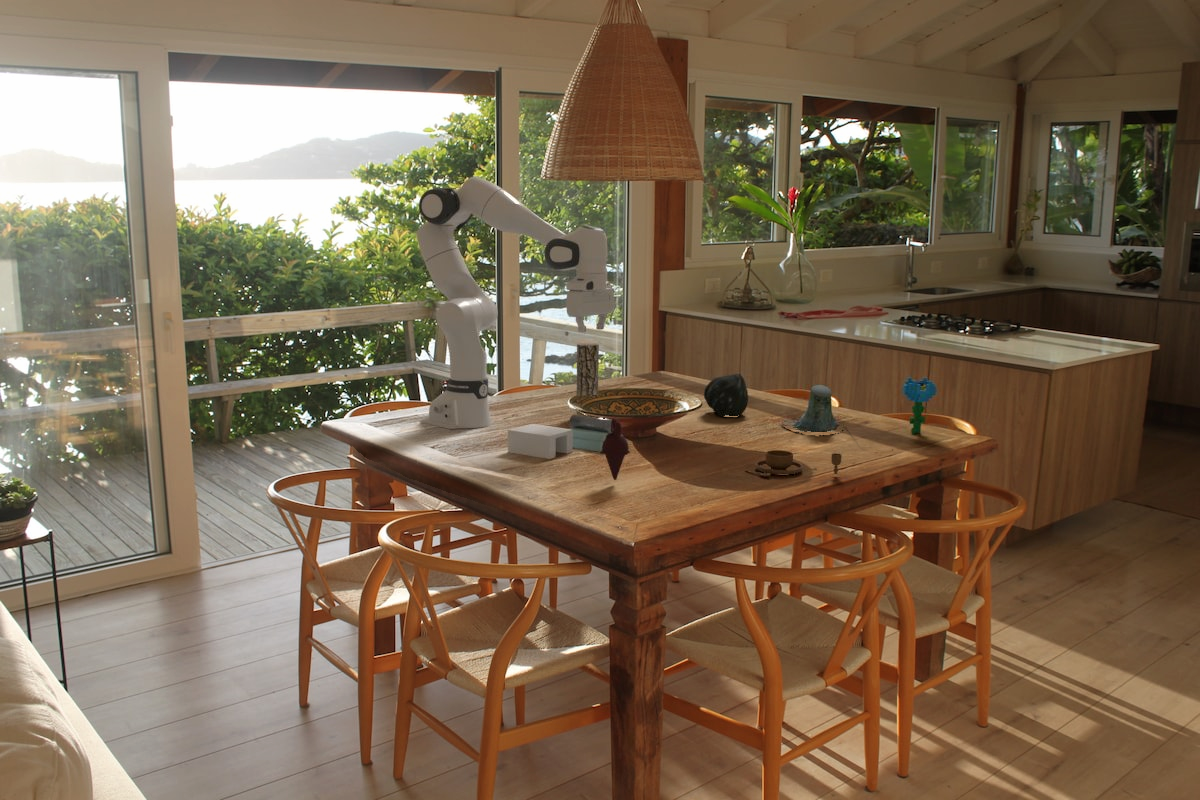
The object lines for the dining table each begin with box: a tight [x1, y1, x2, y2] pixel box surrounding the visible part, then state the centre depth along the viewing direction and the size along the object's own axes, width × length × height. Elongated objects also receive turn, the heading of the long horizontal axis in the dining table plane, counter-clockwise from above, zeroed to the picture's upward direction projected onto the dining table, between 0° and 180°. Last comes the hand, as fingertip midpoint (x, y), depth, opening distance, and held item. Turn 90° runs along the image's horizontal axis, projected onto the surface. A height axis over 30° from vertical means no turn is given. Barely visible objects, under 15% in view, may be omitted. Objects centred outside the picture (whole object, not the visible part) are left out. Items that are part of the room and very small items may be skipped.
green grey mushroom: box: [781, 384, 840, 432], centre depth 312 cm, size 18×20×18 cm
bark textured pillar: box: [576, 340, 600, 416], centre depth 324 cm, size 7×7×25 cm
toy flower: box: [901, 376, 937, 435], centre depth 304 cm, size 9×9×18 cm
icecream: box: [599, 418, 631, 481], centre depth 252 cm, size 7×7×15 cm
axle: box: [568, 413, 613, 433], centre depth 291 cm, size 14×4×4 cm, turn 57°
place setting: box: [747, 449, 842, 477], centre depth 263 cm, size 18×20×6 cm
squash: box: [703, 373, 749, 417], centre depth 331 cm, size 14×15×15 cm
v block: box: [570, 427, 624, 453], centre depth 292 cm, size 12×12×4 cm
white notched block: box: [507, 423, 574, 460], centre depth 282 cm, size 14×11×6 cm
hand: (591, 330), depth 299 cm, fingers open, 8 cm apart
